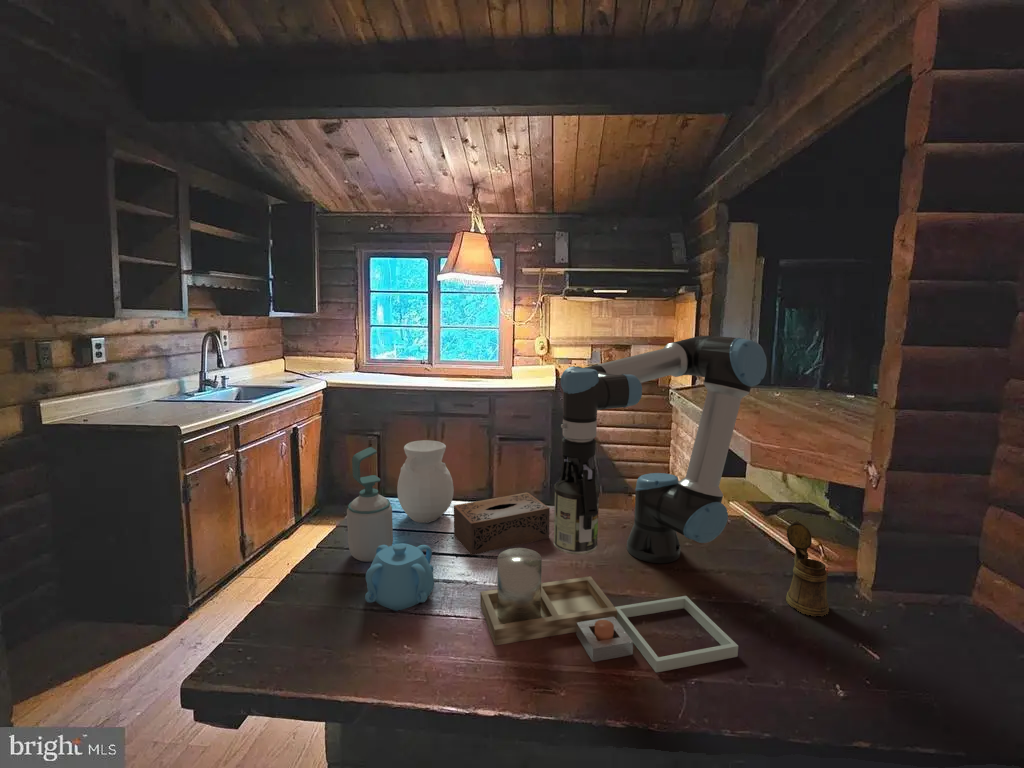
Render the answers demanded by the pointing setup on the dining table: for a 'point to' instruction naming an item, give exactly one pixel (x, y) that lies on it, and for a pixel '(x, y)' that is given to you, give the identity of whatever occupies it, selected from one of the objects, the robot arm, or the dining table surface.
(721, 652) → the white square frame
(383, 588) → the decorative pot
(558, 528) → the coffee can
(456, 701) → the dining table surface
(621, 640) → the button housing
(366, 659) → the dining table surface
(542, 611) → the divided wooden tray
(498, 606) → the grey rounded cylinder piece
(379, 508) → the soap bottle
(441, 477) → the white vase
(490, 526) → the tissue box cover
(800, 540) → the wooden mug
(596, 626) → the button
